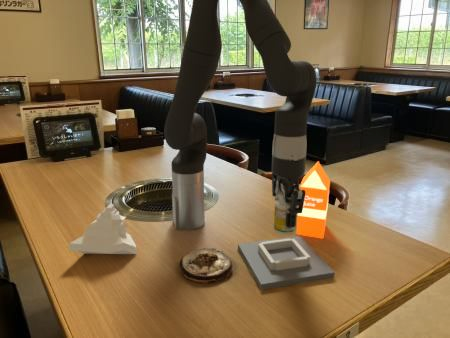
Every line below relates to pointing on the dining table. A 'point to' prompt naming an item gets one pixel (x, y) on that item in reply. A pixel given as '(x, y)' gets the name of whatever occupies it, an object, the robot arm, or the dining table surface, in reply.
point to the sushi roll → (206, 265)
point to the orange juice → (314, 203)
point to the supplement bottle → (282, 217)
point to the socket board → (284, 262)
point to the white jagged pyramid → (105, 235)
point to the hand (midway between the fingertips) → (285, 220)
